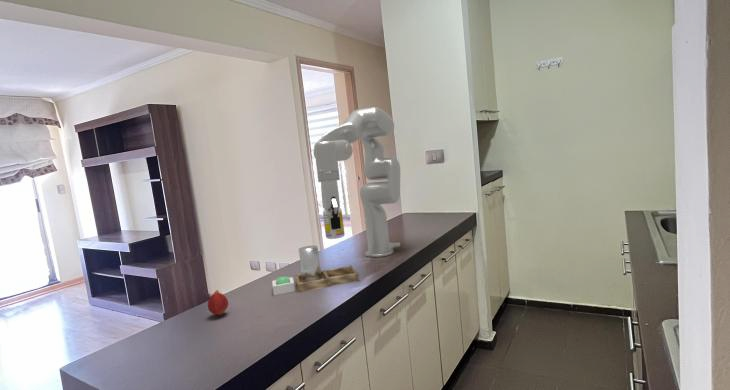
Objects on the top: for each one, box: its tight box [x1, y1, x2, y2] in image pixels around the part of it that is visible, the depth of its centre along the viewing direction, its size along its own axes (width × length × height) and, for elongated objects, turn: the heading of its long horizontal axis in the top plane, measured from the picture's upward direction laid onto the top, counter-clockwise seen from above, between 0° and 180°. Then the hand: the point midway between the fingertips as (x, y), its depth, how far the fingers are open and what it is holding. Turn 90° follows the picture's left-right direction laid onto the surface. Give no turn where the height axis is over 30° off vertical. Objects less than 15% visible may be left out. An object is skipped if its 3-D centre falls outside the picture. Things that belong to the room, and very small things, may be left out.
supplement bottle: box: [322, 201, 346, 240], centre depth 137 cm, size 7×7×13 cm
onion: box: [207, 289, 229, 317], centre depth 119 cm, size 6×6×8 cm
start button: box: [276, 275, 290, 285], centre depth 133 cm, size 4×4×5 cm
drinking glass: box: [298, 245, 322, 283], centre depth 136 cm, size 7×7×13 cm
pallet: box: [294, 265, 360, 293], centre depth 138 cm, size 21×12×4 cm, turn 104°
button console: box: [271, 276, 296, 296], centre depth 133 cm, size 7×7×4 cm
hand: (334, 226), depth 137 cm, fingers closed on supplement bottle, 6 cm apart
